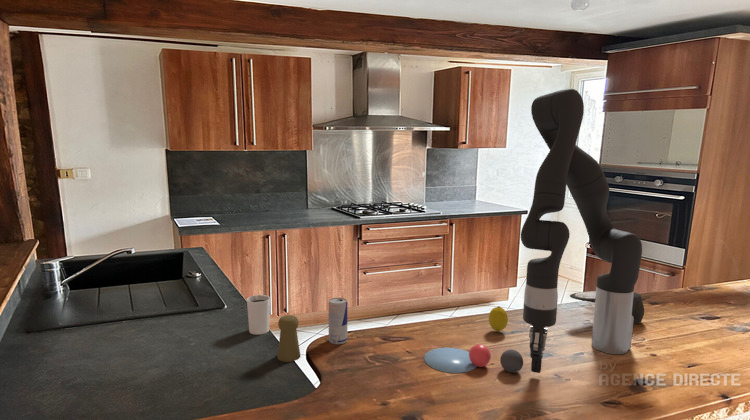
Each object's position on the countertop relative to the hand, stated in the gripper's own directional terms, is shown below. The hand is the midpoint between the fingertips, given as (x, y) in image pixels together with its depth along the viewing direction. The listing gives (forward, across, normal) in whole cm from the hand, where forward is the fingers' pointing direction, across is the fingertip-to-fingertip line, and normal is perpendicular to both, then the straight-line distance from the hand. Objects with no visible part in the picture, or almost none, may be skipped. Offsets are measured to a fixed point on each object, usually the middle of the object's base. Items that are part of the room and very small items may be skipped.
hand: (535, 371), depth 116 cm
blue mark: (+2, 0, +21) cm, 21 cm away
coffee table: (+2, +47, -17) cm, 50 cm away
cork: (+2, -16, +61) cm, 63 cm away
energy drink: (+2, -2, +54) cm, 54 cm away
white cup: (+2, -6, +78) cm, 78 cm away
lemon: (+2, +24, +13) cm, 27 cm away
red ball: (-1, 0, +14) cm, 14 cm away
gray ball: (-1, 0, +6) cm, 6 cm away
